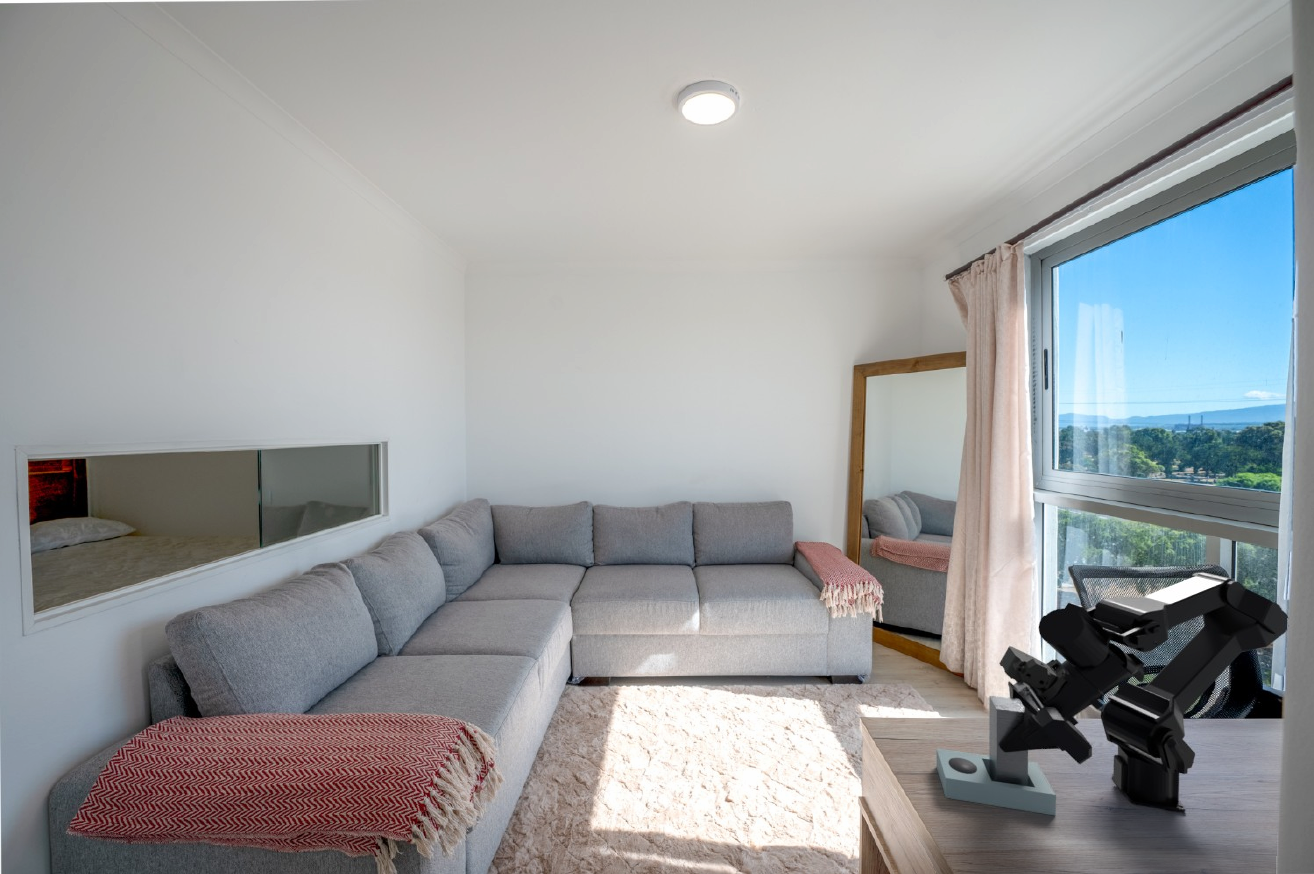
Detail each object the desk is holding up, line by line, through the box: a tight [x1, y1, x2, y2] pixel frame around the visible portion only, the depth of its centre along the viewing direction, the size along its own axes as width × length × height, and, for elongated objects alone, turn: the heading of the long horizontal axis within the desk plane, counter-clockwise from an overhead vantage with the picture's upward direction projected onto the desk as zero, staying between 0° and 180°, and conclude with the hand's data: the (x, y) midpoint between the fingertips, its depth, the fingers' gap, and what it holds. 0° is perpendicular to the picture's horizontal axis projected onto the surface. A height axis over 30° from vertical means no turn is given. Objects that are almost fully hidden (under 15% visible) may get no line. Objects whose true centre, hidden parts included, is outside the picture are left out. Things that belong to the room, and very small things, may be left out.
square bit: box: [988, 695, 1029, 786], centre depth 85 cm, size 4×4×12 cm
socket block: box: [936, 748, 1057, 817], centre depth 86 cm, size 14×8×3 cm, turn 73°
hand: (997, 740), depth 85 cm, fingers closed on square bit, 4 cm apart
